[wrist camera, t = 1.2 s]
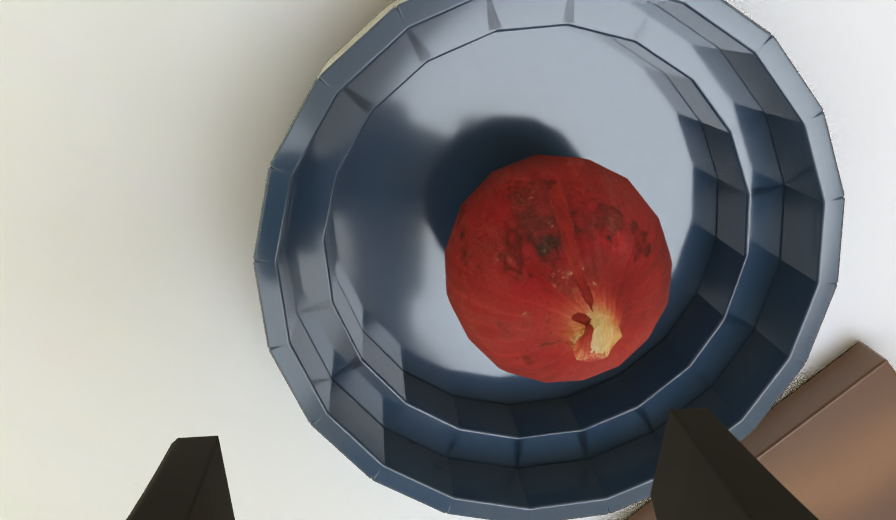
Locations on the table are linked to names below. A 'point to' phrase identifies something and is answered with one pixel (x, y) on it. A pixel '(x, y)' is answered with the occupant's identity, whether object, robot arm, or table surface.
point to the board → (833, 440)
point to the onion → (557, 268)
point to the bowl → (505, 142)
